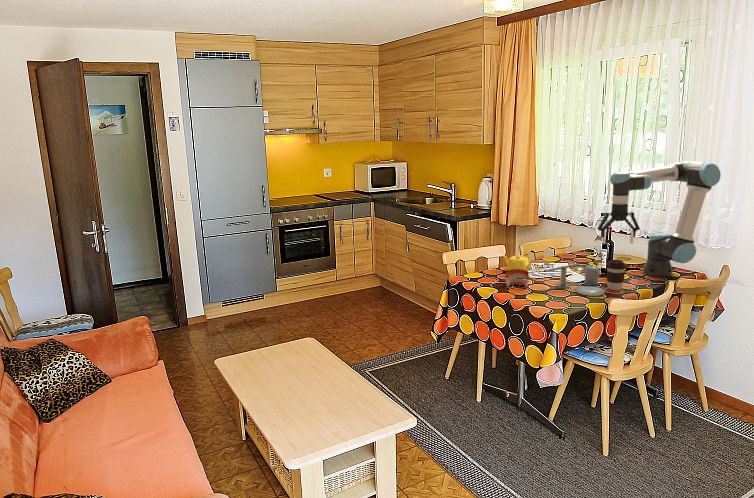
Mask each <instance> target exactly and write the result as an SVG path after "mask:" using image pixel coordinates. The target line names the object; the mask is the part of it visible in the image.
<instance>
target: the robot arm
mask: <svg viewBox="0 0 754 498" xmlns="http://www.w3.org/2000/svg"><path fill="white" fill-rule="evenodd" d="M721 176H722V175H721V170H720V168H719V166H718V165H716V164H715V163H711V162H703V161H695V160H693V161H692V160H690V161H689V160H687V161H682V162H680V161H679V162H675V163H670V164H668V165H667V166H660V167H654V168H648V169H647V168H646V169H645V168H644V169H640V170H639V169H638V170H631V171H624V172H623V171H616V172H613V173H612V175H610V177H609V179H610V184H611V185H612V200H611V201H612V204H611V212H607V211H605V213H604V216H603V219H602V220H601V221H600V223H599V225H598V227H596V228H597V230H598V231H600V236H601V238H602V244H603V245H605V244H606V237H607V236H606V235H607V231H606V230H607V229H608V228H609V227H610V226H611V225H612V224H613V223H614V222H623V221H624V222H625V223H626V225H628V226H629V228H630V229H631V230H630V234H629V243H630V244H631V245H633V244H634V238H636V233H637V231H640V230H641V228H640V226H639V223H638V222H637V219H636V218H635V217H636V216H635V212H633V211H630V212H629V211H628V210H629V196H630V195H629V194H630V192H631V191H632V192H633V191H643V190H648V189H649V188H650V187H651V185H652V183H659V182H667V181H669V182H671V183H673V182H682V183H686V188H687V189H688V190H687V193H686V196H685V199H684V202H683V206H682V209H681V212H680V215H679V218H678V222H677V225H676V228H675V232H673V233H665V232H663V233H662V232H661V233H659V232H658V233H652V234H650V235H649V237H648V243H647V246H648V247H647V259H646V261H645V264H644V266H643V268H642V273H643V274H644V275H646V276H650V277H658V278H668V277H671V276H673V274H674V273H673V272H674V271H673V270H674V269H673V266H672V263H671V261H672V262H674V263H678V264H687V263H689V262H690V261H692V260H693V259H694V258H695V257H696V255H697V248H696V247H697V246H696V245H695V244H694V243H695V238H694V237H693V236H694V233H695V229H696V226H697V224H698V220H699V218H700V214H701V211H702V208H703V205H704V202H705V198H706V195H707V193H708V192H710V191H711V190H712V187H714V186H716V185H717V184H718V183H719V182H720V180H721ZM610 216H611V217H610ZM628 216H629V217H630V218H631V221H632V222H630V220H628V218H627V217H628ZM609 217H610V219H609V220H608V218H609ZM607 220H608V221H607ZM632 223H633V224H632Z"/></svg>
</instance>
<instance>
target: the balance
mask: <svg viewBox="0 0 754 498" xmlns="http://www.w3.org/2000/svg"><path fill="white" fill-rule="evenodd" d="M543 264H544V265H546V266H554V265H556V263H555V262H554V261H544V263H543ZM569 268H572V271H574V272H583V271H585V267H582V266H580V263H574V264H568V265H561V266H560V267H559V266H558V267H554V268H549V269H548V272H552V271H553V272H554V271H558V270H560V282H558V283H556V287H557V289H570V288H571V286H570V284H569V283H567V269H569Z"/></svg>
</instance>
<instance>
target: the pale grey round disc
mask: <svg viewBox="0 0 754 498" xmlns="http://www.w3.org/2000/svg"><path fill="white" fill-rule="evenodd" d="M575 292H576V293H578V294H580V295H583V296H586V295H587V296H589V297H597V296H602V295H604V294H605V293H606V291H605V290H604V288H601V287H598V286H594V285H585V286H578V287H577V288H576V289H575Z"/></svg>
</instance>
